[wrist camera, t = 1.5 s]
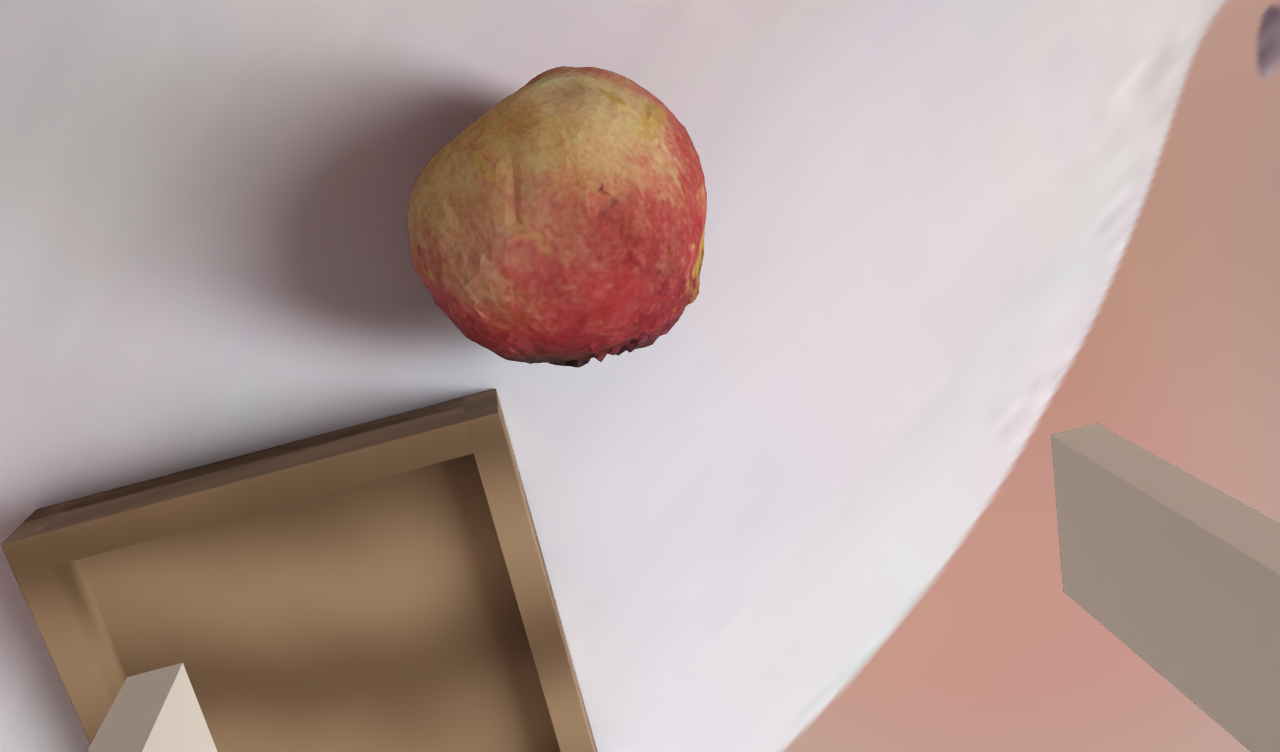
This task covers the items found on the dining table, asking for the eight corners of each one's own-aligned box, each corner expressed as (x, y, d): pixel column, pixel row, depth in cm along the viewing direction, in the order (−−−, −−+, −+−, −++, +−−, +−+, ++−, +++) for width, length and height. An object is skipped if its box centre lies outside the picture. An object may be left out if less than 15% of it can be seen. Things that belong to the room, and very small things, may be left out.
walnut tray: (36, 509, 31) (0, 544, 28) (495, 388, 32) (498, 412, 30) (198, 881, 35) (178, 939, 33) (600, 760, 36) (609, 807, 34)
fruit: (649, 47, 30) (712, 32, 23) (699, 299, 33) (771, 363, 25) (386, 105, 30) (359, 109, 22) (455, 359, 32) (452, 443, 24)
